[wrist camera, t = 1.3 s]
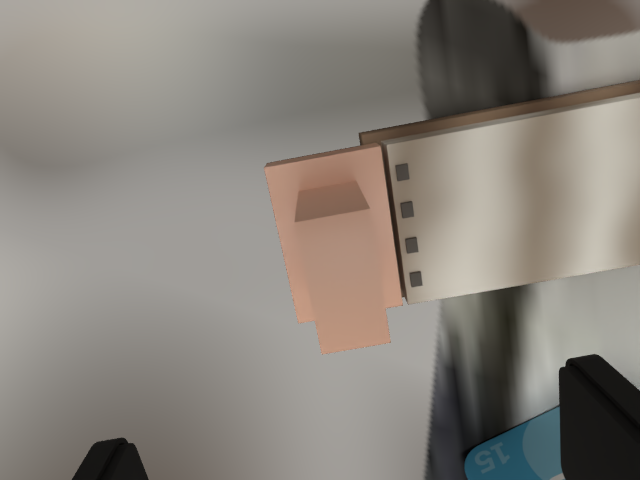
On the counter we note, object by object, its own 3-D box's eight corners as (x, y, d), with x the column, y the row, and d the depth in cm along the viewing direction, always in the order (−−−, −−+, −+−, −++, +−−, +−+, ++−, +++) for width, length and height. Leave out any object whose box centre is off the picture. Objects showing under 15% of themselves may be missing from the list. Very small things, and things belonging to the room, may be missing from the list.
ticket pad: (676, 73, 25) (736, 69, 22) (666, 240, 28) (717, 261, 25) (358, 133, 26) (365, 138, 22) (382, 289, 29) (392, 317, 25)
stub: (376, 142, 24) (404, 163, 17) (397, 292, 27) (429, 366, 20) (267, 162, 24) (247, 192, 17) (299, 309, 27) (294, 389, 20)
